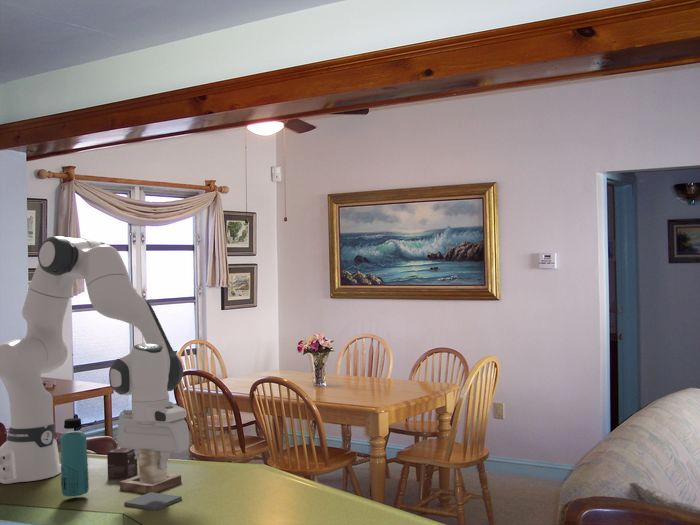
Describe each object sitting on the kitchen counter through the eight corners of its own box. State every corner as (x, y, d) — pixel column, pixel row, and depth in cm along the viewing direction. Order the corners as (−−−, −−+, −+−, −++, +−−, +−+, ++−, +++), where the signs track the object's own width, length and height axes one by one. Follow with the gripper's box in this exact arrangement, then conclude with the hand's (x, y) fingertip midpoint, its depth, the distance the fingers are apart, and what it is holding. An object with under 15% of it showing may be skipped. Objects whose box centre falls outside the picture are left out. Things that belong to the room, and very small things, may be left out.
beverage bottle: (95, 496, 189) (92, 416, 190) (75, 504, 183) (72, 421, 184) (75, 494, 192) (73, 415, 193) (55, 501, 186) (52, 420, 187)
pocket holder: (119, 489, 195) (119, 481, 195) (149, 478, 205) (149, 471, 205) (152, 494, 190) (151, 486, 190) (181, 482, 199) (181, 475, 199)
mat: (124, 505, 181) (124, 502, 181) (150, 495, 189) (150, 492, 189) (155, 510, 176) (155, 507, 176) (181, 499, 184) (181, 496, 184)
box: (127, 479, 205) (126, 452, 205) (107, 479, 206) (106, 452, 206) (138, 473, 211) (137, 447, 211) (118, 473, 212) (117, 447, 212)
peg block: (139, 482, 182) (138, 449, 182) (153, 478, 186) (151, 445, 186) (154, 484, 179) (152, 450, 180) (167, 479, 183) (165, 446, 184)
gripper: (109, 411, 185) (111, 467, 185) (174, 415, 175) (176, 475, 175) (128, 406, 190) (130, 461, 190) (192, 410, 181) (194, 468, 181)
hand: (153, 468), depth 182 cm, fingers closed on peg block, 4 cm apart
